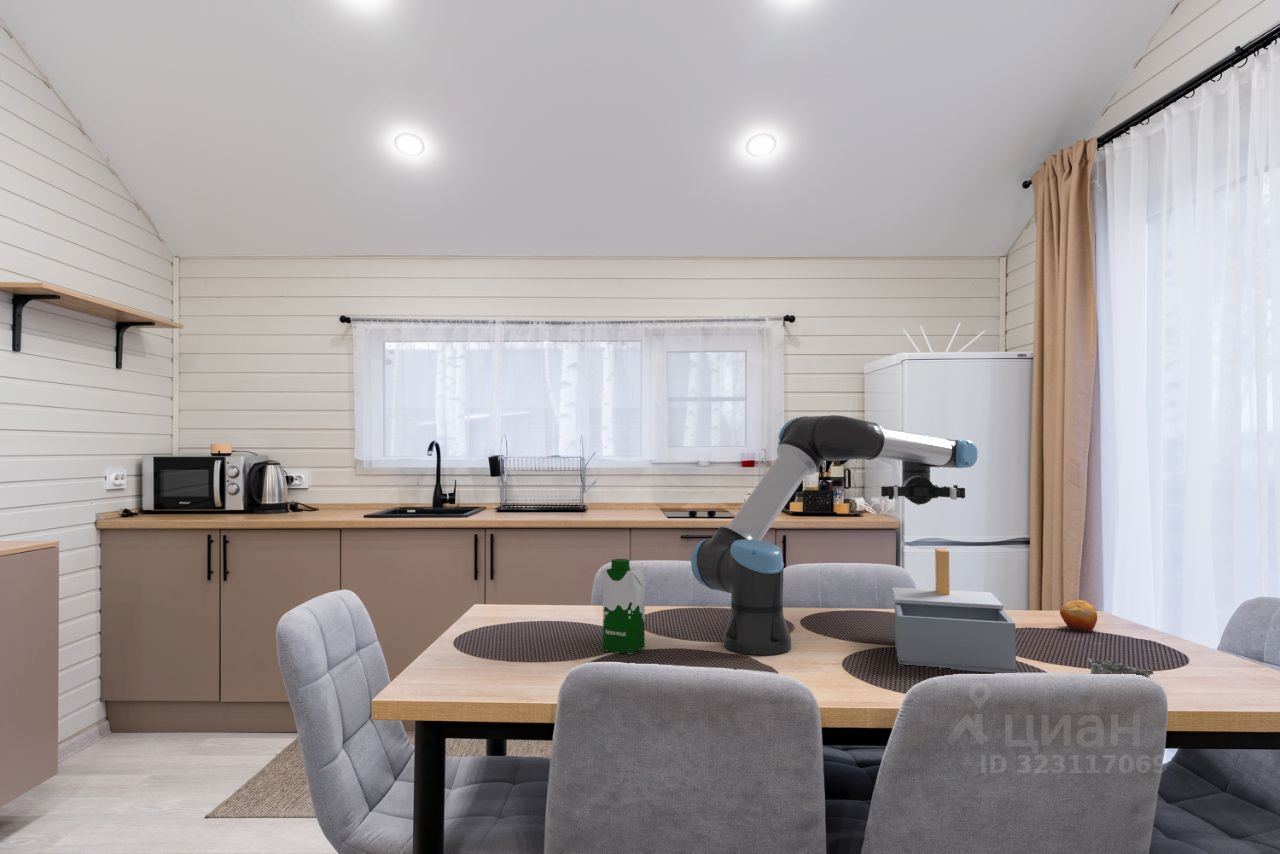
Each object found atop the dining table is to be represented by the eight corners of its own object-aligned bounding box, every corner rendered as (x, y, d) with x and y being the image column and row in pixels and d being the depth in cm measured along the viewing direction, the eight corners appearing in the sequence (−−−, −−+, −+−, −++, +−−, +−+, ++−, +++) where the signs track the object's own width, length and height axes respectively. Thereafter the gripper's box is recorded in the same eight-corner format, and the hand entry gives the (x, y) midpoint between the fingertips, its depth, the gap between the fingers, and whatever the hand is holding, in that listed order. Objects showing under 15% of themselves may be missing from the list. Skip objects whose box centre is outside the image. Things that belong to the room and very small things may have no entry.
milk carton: (597, 651, 163) (597, 560, 163) (615, 642, 171) (616, 555, 172) (633, 656, 159) (633, 562, 160) (650, 646, 167) (650, 557, 168)
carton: (898, 665, 153) (898, 616, 154) (895, 646, 168) (894, 601, 169) (1016, 674, 147) (1015, 623, 147) (1001, 653, 162) (1000, 607, 163)
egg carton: (1157, 694, 136) (1156, 671, 136) (1113, 692, 137) (1112, 670, 137) (1125, 676, 147) (1125, 655, 147) (1085, 675, 147) (1085, 654, 148)
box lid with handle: (895, 602, 166) (894, 554, 166) (892, 590, 181) (892, 546, 182) (1003, 609, 160) (1002, 558, 160) (990, 595, 175) (990, 549, 175)
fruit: (1097, 620, 189) (1097, 596, 186) (1097, 642, 183) (1096, 617, 180) (1061, 616, 193) (1060, 592, 190) (1060, 637, 188) (1058, 613, 184)
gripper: (968, 504, 200) (980, 510, 180) (871, 502, 207) (872, 507, 187) (967, 476, 200) (979, 479, 180) (871, 475, 208) (872, 477, 187)
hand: (925, 493), depth 184 cm, fingers open, 13 cm apart
